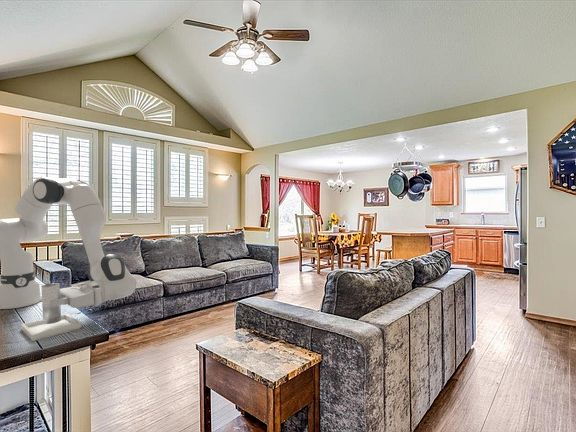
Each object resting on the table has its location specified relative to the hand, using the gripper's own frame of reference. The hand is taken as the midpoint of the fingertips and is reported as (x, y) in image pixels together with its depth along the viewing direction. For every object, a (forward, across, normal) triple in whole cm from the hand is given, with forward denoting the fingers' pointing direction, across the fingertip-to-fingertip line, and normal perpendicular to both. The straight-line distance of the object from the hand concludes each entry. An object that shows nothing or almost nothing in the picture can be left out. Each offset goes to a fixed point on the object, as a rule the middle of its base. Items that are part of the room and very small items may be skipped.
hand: (48, 301), depth 114 cm
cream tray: (-1, -1, +10) cm, 10 cm away
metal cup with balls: (-1, 0, +7) cm, 7 cm away
